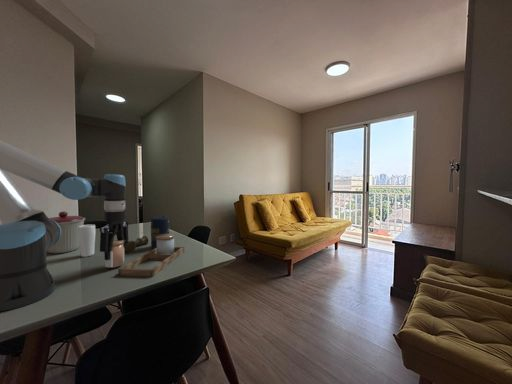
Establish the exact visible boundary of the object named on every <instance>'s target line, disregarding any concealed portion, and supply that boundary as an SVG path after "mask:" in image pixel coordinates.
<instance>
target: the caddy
mask: <svg viewBox="0 0 512 384" xmlns="http://www.w3.org/2000/svg"><path fill="white" fill-rule="evenodd" d="M184 253H185V246H174V253H173V254H157V248H153V249H152V250H150V251H148V252H146V253H144V254H142V255H141V256H140V257H138V258H136V259H134V260H132V261H130V262H129V263H127V264H125V265H123V266H121V267H120V268H118V276H123V277H125V276H126V277H152V278H153V277H154V276H155V275H157V274H158V273H159V272H161V271H162V270H163V269H165V268H166V267H167V266H168V265H169V264H171V263H172V262H173V261H175V260H176V259H177V258H179V256H181V255H182V254H184ZM147 260H152V261H153V260H154V261H161V262H160V263H158V264H157V265H155V266H154V267H153V268H136V267H138V266H139V265H141V264H142V263H144V262H145V261H147Z"/></svg>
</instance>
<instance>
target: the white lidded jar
mask: <svg viewBox="0 0 512 384" xmlns="http://www.w3.org/2000/svg"><path fill="white" fill-rule="evenodd" d="M175 236H176V235H175V233H169V234H161V235H157V236H156V239H157V254H173V253H175V252H174V247H175Z"/></svg>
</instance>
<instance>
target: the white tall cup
mask: <svg viewBox="0 0 512 384" xmlns="http://www.w3.org/2000/svg"><path fill="white" fill-rule="evenodd" d="M96 234H97V233H96V224H84V225H82V226H78V238H79V245H80V247H79V250H80V257H82V258H87V257H91V256H93V255H95V248H96V247H95V245H96V243H95V242H96Z"/></svg>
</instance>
